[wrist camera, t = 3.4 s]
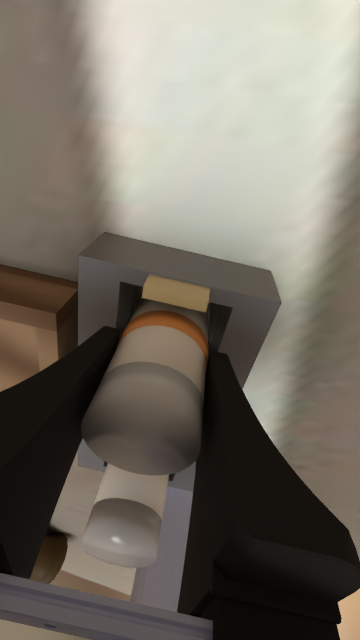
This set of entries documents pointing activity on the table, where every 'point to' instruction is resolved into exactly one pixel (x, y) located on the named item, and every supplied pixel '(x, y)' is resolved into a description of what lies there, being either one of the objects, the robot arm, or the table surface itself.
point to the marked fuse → (152, 392)
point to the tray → (34, 323)
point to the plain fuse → (126, 518)
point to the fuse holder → (176, 289)
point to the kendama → (50, 558)
